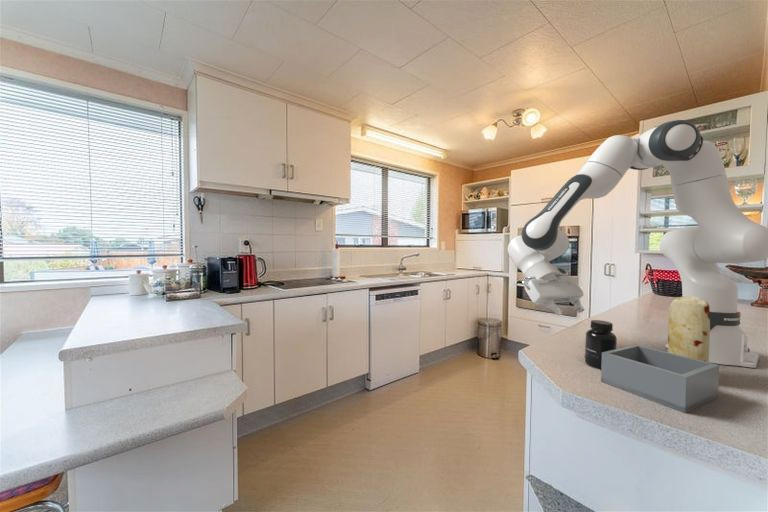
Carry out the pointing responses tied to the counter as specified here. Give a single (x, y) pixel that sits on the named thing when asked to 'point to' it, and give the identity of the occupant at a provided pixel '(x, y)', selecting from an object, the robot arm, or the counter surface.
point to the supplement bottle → (599, 342)
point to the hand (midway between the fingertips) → (571, 312)
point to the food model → (689, 328)
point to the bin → (661, 376)
